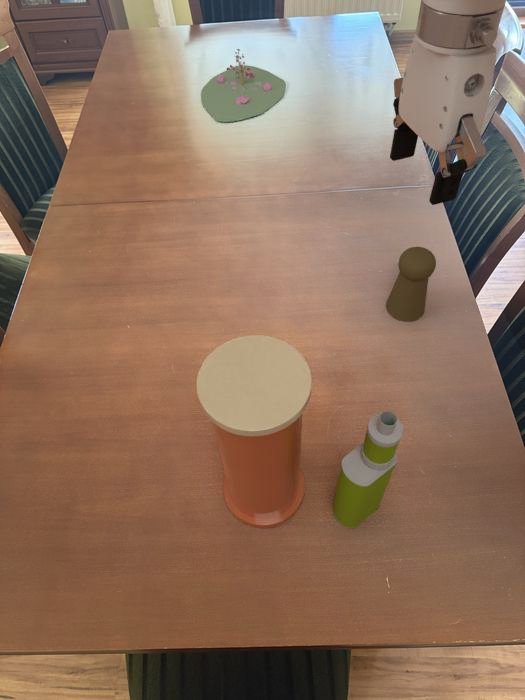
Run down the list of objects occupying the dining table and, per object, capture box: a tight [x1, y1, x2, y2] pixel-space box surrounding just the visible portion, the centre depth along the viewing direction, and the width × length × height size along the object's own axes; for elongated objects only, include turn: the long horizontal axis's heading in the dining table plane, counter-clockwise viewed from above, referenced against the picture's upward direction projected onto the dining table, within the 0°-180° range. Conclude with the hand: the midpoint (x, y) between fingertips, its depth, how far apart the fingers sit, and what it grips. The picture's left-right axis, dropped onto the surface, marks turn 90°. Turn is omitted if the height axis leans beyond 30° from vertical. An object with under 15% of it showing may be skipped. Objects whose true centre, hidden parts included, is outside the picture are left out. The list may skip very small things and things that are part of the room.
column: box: [196, 334, 313, 529], centre depth 54 cm, size 10×10×24 cm
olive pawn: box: [385, 246, 437, 323], centre depth 76 cm, size 6×6×11 cm
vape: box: [332, 410, 404, 529], centre depth 53 cm, size 4×6×20 cm, turn 127°
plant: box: [200, 48, 286, 123], centre depth 120 cm, size 25×21×9 cm
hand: (420, 178), depth 62 cm, fingers open, 9 cm apart
